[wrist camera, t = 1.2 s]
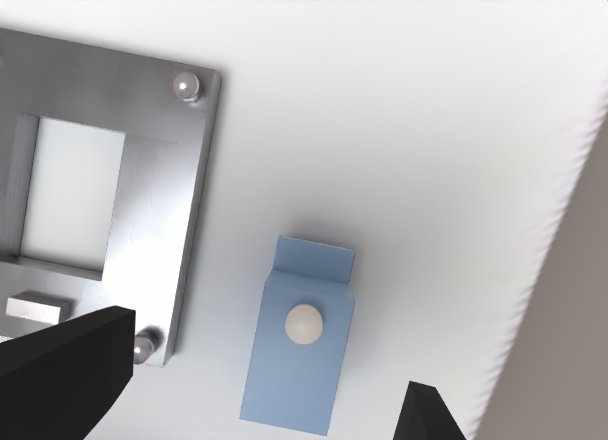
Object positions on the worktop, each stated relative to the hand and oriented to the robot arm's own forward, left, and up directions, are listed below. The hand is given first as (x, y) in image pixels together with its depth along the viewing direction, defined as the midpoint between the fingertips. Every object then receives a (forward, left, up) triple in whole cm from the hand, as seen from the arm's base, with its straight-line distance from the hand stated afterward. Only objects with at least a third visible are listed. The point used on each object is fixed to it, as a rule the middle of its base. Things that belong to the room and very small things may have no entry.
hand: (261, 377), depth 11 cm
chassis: (+2, +11, -11) cm, 15 cm away
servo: (-2, -1, -11) cm, 11 cm away
